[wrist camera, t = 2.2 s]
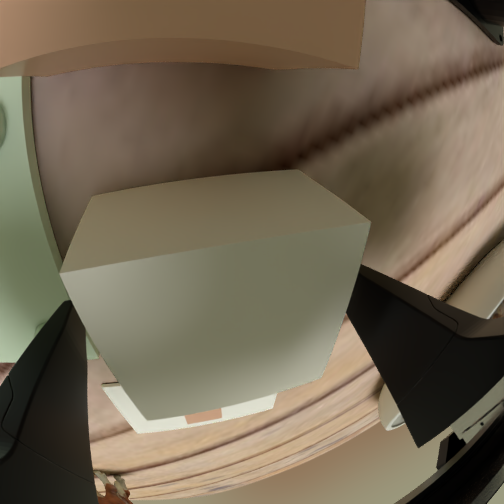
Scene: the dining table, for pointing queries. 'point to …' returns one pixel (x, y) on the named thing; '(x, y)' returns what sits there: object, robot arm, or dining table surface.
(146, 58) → the terracotta brick
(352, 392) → the dining table surface
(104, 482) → the bull figurine
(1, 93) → the plate
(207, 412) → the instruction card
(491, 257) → the bowl
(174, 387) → the cream brick
